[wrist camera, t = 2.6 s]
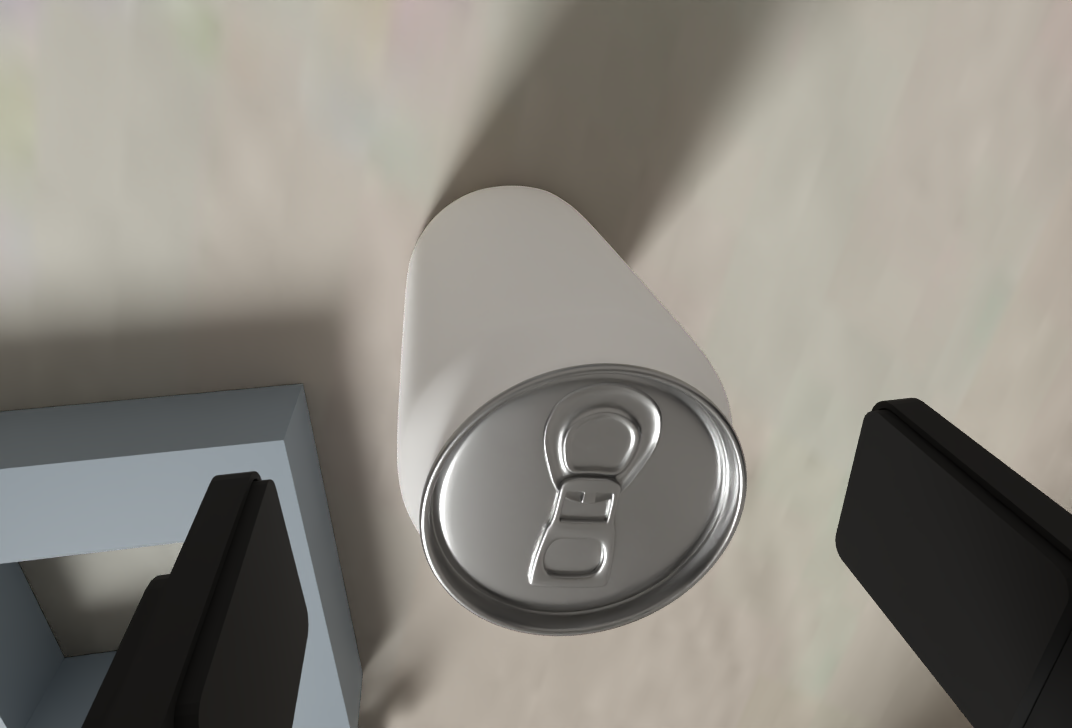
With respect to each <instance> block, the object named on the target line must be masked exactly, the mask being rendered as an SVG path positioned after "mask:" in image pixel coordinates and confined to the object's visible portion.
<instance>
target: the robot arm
mask: <svg viewBox="0 0 1072 728" xmlns="http://www.w3.org/2000/svg"><path fill="white" fill-rule="evenodd" d="M835 541H836V548H837V551H838V554H839V556H840V557H841V559H842V561H843V562H844V563H845V564H846V566H847V567H848V568H849V569H850V571H851V572H852V573H853V574H854V576H855V577H856V578H857V580H858V581H859V582H860V583H861V585H862V586H863V587H864V588H865V590H866V591H867V592H868V594H869V595H870V596H871V597H872V599H873V600H874V601H875V602H876V604H877V605H878V606H879V608H880V609H881V610H882V611H883V613H884V614H885V615H886V616H887V618H888V619H889V620H890V621H891V623H892V624H893V625H894V627H895V628H896V629H897V630H898V632H899V633H900V634H901V635H902V637H903V638H904V639H905V641H906V642H907V643H908V644H909V646H910V647H911V648H912V649H913V651H914V652H915V653H916V655H917V656H918V657H919V658H920V660H921V661H922V662H923V663H924V665H925V666H926V667H927V668H928V670H929V671H930V672H931V674H932V675H933V676H934V677H935V679H936V680H937V681H938V682H939V684H940V685H941V686H942V688H943V689H944V690H945V691H946V693H947V694H948V695H949V696H950V698H951V699H952V700H953V702H954V703H955V704H956V705H957V707H958V708H959V709H960V710H961V712H962V713H963V714H964V716H965V717H966V718H967V719H968V721H969V722H970V723H971V724H972V726H973V727H974V728H1072V514H1070V513H1069V512H1068V511H1066V510H1065V509H1064V508H1062V507H1061V506H1060V505H1058V504H1057V503H1056V502H1054V501H1053V500H1052V499H1050V498H1049V497H1048V496H1046V495H1045V494H1044V493H1043V492H1041V491H1040V490H1039V489H1037V488H1036V487H1035V486H1033V485H1032V484H1031V483H1029V482H1028V481H1027V480H1025V479H1024V478H1023V477H1021V476H1020V475H1019V474H1017V473H1016V472H1015V471H1014V470H1012V469H1011V468H1010V467H1008V466H1007V465H1006V464H1004V463H1003V462H1002V461H1000V460H999V459H998V458H996V457H995V456H994V455H992V454H991V453H990V452H988V451H987V450H986V449H984V448H983V447H982V446H981V445H979V444H978V443H977V442H975V441H974V440H973V439H971V438H970V437H969V436H967V435H966V434H965V433H963V432H962V431H961V430H959V429H958V428H957V427H955V426H954V425H953V424H952V423H950V422H949V421H948V420H946V419H945V418H944V417H942V416H941V415H940V414H938V413H937V412H936V411H934V410H933V409H932V408H930V407H929V406H928V405H926V404H925V403H924V402H923V401H921V400H919V399H917V398H906V399H897V400H888V401H881V402H878V403H877V404H876V405H875V406H874V407H873V409H872V411H871V412H868V413H867V414H866V415H865V417H864V420H863V424H862V428H861V432H860V437H859V441H858V445H857V449H856V453H855V457H854V462H853V466H852V470H851V474H850V478H849V482H848V487H847V491H846V495H845V499H844V503H843V507H842V512H841V516H840V520H839V524H838V528H837V533H836V539H835ZM308 627H309V623H308V612H307V607H306V603H305V599H304V595H303V591H302V587H301V583H300V579H299V576H298V572H297V568H296V564H295V560H294V556H293V552H292V548H291V544H290V540H289V536H288V532H287V528H286V525H285V521H284V517H283V513H282V509H281V505H280V501H279V497H278V493H277V489H276V486H275V483H274V481H273V480H271V479H268V480H262V479H261V476H260V475H259V473H258V472H256V471H250V472H241V473H232V474H223V475H216V476H214V477H213V478H212V480H211V482H210V484H209V486H208V489H207V491H206V493H205V496H204V498H203V500H202V502H201V505H200V507H199V509H198V512H197V514H196V516H195V518H194V521H193V523H192V525H191V528H190V530H189V532H188V535H187V537H186V539H185V541H184V544H183V546H182V548H181V551H180V553H179V555H178V557H177V560H176V562H175V564H174V567H173V569H172V571H171V573H170V574H167V575H159V576H157V577H155V578H154V579H153V580H151V582H150V584H149V585H148V587H147V588H146V590H145V592H144V594H143V596H142V599H141V601H140V603H139V605H138V607H137V609H136V611H135V613H134V616H133V618H132V620H131V622H130V624H129V626H128V628H127V631H126V633H125V635H124V637H123V639H122V641H121V643H120V646H119V648H118V650H117V652H116V654H115V656H114V658H113V661H112V663H111V665H110V667H109V669H108V671H107V673H106V676H105V678H104V680H103V682H102V684H101V686H100V688H99V691H98V693H97V695H96V697H95V699H94V701H93V703H92V706H91V708H90V710H89V712H88V714H87V716H86V718H85V721H84V723H83V725H82V727H81V728H292V726H293V720H294V714H295V709H296V703H297V697H298V691H299V685H300V679H301V673H302V668H303V662H304V656H305V650H306V644H307V638H308Z"/></svg>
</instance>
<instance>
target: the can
mask: <svg viewBox="0 0 1072 728" xmlns="http://www.w3.org/2000/svg"><path fill="white" fill-rule="evenodd" d="M397 468H398V476H399V484H400V489H401V494H402V498H403V501H404V504H405V507H406V509H407V512H408V514H409V516H410V518H411V520H412V522H413V524H414V526H415V527H416V529H417V531H418V533H419V534H420V536H421V542H422V546H423V550H424V553H425V556H426V559H427V561H428V564H429V566H430V568H431V570H432V572H433V573H434V575H435V577H436V578H437V580H438V581H439V583H440V584H441V585H442V586H443V588H444V589H445V590H446V591H447V592H448V593H449V594H450V595H451V596H452V597H453V598H454V599H455V600H456V601H457V602H458V603H459V604H461V605H462V606H463V607H464V608H466V609H467V610H469V611H470V612H472V613H473V614H475V615H477V616H478V617H480V618H482V619H484V620H486V621H488V622H490V623H493V624H495V625H498V626H501V627H503V628H507V629H510V630H514V631H518V632H522V633H528V634H534V635H543V636H574V635H584V634H591V633H596V632H601V631H606V630H610V629H614V628H617V627H620V626H623V625H626V624H629V623H632V622H634V621H637V620H639V619H642V618H644V617H646V616H648V615H650V614H652V613H654V612H656V611H658V610H660V609H662V608H663V607H665V606H667V605H668V604H670V603H671V602H673V601H674V600H676V599H677V598H679V597H680V596H682V595H683V594H684V593H685V592H687V591H688V590H689V589H690V588H692V587H693V586H694V585H695V584H696V583H697V582H698V581H699V580H700V579H701V578H703V576H704V575H705V574H706V573H707V572H708V571H709V570H710V569H711V568H712V567H713V565H714V564H715V563H716V562H717V560H718V559H719V558H720V556H721V555H722V554H723V552H724V551H725V549H726V547H727V546H728V544H729V542H730V541H731V539H732V537H733V535H734V533H735V531H736V528H737V526H738V524H739V521H740V518H741V515H742V511H743V508H744V503H745V497H746V489H747V472H746V463H745V458H744V454H743V450H742V447H741V444H740V441H739V439H738V436H737V434H736V432H735V430H734V429H733V427H732V418H731V412H730V407H729V402H728V398H727V395H726V392H725V390H724V387H723V385H722V383H721V380H720V378H719V377H718V375H717V373H716V371H715V369H714V368H713V366H712V364H711V363H710V361H709V360H708V358H707V357H706V355H705V354H704V353H703V351H702V350H701V349H700V348H699V346H698V345H697V344H696V343H695V341H694V340H693V339H692V338H691V336H690V335H689V334H688V333H687V332H686V331H685V329H684V328H683V327H682V326H681V325H680V324H679V322H678V321H677V320H676V319H675V318H674V317H673V315H672V314H671V313H670V312H669V311H668V310H667V309H666V308H665V306H664V305H663V304H662V303H661V302H660V301H659V300H658V298H657V297H656V296H655V295H654V294H653V293H652V292H651V291H650V289H649V288H648V287H647V286H646V285H645V284H644V283H643V282H642V280H641V279H640V278H639V277H638V276H637V275H636V274H635V273H634V271H633V270H632V269H631V268H630V267H629V266H628V265H627V264H626V262H625V261H624V260H623V259H622V258H621V257H620V256H619V255H618V254H617V252H616V251H615V250H614V249H613V248H612V247H611V246H610V245H609V244H608V242H607V241H606V240H605V239H604V238H603V237H602V236H601V235H600V234H599V233H598V232H597V230H596V229H595V228H594V227H593V226H592V225H591V224H590V223H589V222H588V221H587V220H586V219H585V218H584V217H583V216H582V215H581V214H580V213H579V212H578V211H577V210H576V209H575V208H573V207H572V206H571V205H570V204H568V203H567V202H565V201H564V200H563V199H561V198H559V197H558V196H556V195H554V194H552V193H550V192H548V191H545V190H542V189H538V188H533V187H527V186H497V187H490V188H485V189H481V190H477V191H474V192H471V193H469V194H467V195H464V196H462V197H461V198H459V199H457V200H455V201H454V202H452V203H451V204H449V205H448V206H446V207H445V208H444V209H443V210H442V211H440V212H439V213H438V214H437V215H436V216H435V217H434V218H433V219H432V220H431V222H430V223H429V224H428V225H427V227H426V228H425V229H424V231H423V232H422V234H421V236H420V237H419V239H418V241H417V243H416V245H415V248H414V250H413V253H412V256H411V259H410V263H409V267H408V274H407V282H406V293H405V307H404V322H403V338H402V355H401V372H400V390H399V408H398V431H397Z"/></svg>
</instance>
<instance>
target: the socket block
mask: <svg viewBox="0 0 1072 728" xmlns="http://www.w3.org/2000/svg"><path fill="white" fill-rule="evenodd" d="M250 471H256V472H258V473H259V475H260V476H261V479H262V480H268V479H271V480H273V481H274V483H275V486H276V489H277V493H278V497H279V501H280V505H281V509H282V513H283V517H284V521H285V525H286V528H287V532H288V536H289V540H290V544H291V548H292V552H293V556H294V560H295V564H296V568H297V572H298V576H299V579H300V583H301V587H302V591H303V595H304V599H305V603H306V607H307V612H308V623H309V627H308V638H307V644H306V650H305V656H304V662H303V668H302V673H301V679H300V685H299V691H298V697H297V703H296V709H295V714H294V720H293V726H292V728H358V719H359V708H360V697H361V686H362V675H363V673H362V668H361V663H360V658H359V653H358V649H357V644H356V639H355V634H354V629H353V624H352V620H351V615H350V610H349V605H348V600H347V595H346V591H345V586H344V581H343V576H342V571H341V566H340V561H339V557H338V552H337V547H336V542H335V537H334V532H333V528H332V523H331V518H330V513H329V508H328V503H327V499H326V494H325V489H324V484H323V479H322V474H321V470H320V465H319V460H318V455H317V450H316V445H315V440H314V436H313V431H312V426H311V421H310V416H309V411H308V407H307V402H306V397H305V392H304V387H303V384H294V385H283V386H272V387H262V388H251V389H240V390H229V391H218V392H208V393H197V394H186V395H175V396H164V397H154V398H143V399H132V400H121V401H110V402H100V403H89V404H78V405H67V406H56V407H46V408H35V409H24V410H13V411H3V412H0V728H81V727H82V725H83V723H84V721H85V718H86V716H87V714H88V712H89V710H90V708H91V706H92V703H93V701H94V699H95V697H96V695H97V693H98V691H99V688H100V686H101V684H102V682H103V680H104V678H105V676H106V673H107V671H108V669H109V667H110V665H111V663H112V661H113V658H114V656H115V654H116V652H117V651H112V652H105V653H98V654H90V655H83V656H76V657H68V658H64V656H63V654H62V652H61V650H60V648H59V646H58V644H57V641H56V639H55V637H54V635H53V633H52V631H51V629H50V627H49V625H48V623H47V621H46V619H45V617H44V615H43V613H42V611H41V609H40V607H39V604H38V602H37V600H36V598H35V596H34V594H33V592H32V590H31V588H30V586H29V584H28V582H27V580H26V578H25V576H24V574H23V572H22V569H21V567H20V565H19V563H18V562H20V561H28V560H37V559H45V558H53V557H62V556H70V555H79V554H87V553H96V552H104V551H112V550H121V549H129V548H138V547H146V546H155V545H163V544H171V543H180V542H184V541H185V539H186V537H187V535H188V532H189V530H190V528H191V525H192V523H193V521H194V518H195V516H196V514H197V512H198V509H199V507H200V505H201V502H202V500H203V498H204V496H205V493H206V491H207V489H208V486H209V484H210V482H211V480H212V478H213V477H214V476H216V475H223V474H232V473H241V472H250Z"/></svg>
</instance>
